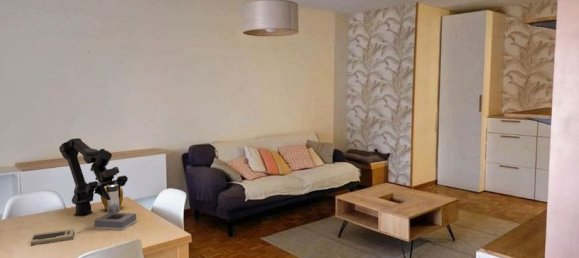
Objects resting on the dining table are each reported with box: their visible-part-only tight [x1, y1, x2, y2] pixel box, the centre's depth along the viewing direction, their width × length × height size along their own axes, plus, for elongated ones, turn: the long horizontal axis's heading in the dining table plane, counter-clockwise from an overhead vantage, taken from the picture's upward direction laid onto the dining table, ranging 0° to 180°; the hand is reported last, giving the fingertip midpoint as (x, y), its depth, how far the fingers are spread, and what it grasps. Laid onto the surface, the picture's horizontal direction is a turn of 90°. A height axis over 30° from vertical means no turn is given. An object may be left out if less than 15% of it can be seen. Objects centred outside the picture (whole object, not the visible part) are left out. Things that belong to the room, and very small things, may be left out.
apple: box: [100, 186, 124, 210], centre depth 219 cm, size 11×11×13 cm
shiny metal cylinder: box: [105, 183, 121, 214], centre depth 193 cm, size 5×5×13 cm
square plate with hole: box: [93, 212, 137, 231], centre depth 195 cm, size 14×12×4 cm
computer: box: [30, 228, 75, 246], centre depth 177 cm, size 16×8×3 cm, turn 114°
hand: (114, 198), depth 192 cm, fingers closed on shiny metal cylinder, 5 cm apart
